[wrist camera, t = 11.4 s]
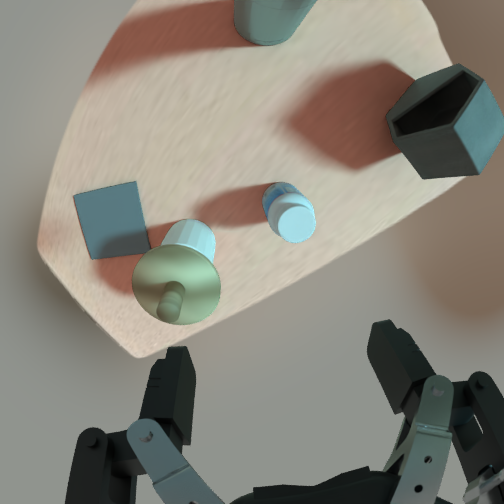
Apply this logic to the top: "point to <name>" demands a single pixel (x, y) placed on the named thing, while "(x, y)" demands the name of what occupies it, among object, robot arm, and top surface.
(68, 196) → the top surface
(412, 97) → the planter
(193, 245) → the mug
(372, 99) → the top surface
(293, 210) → the pill bottle
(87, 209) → the mat
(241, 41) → the top surface
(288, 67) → the top surface
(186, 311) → the lid
